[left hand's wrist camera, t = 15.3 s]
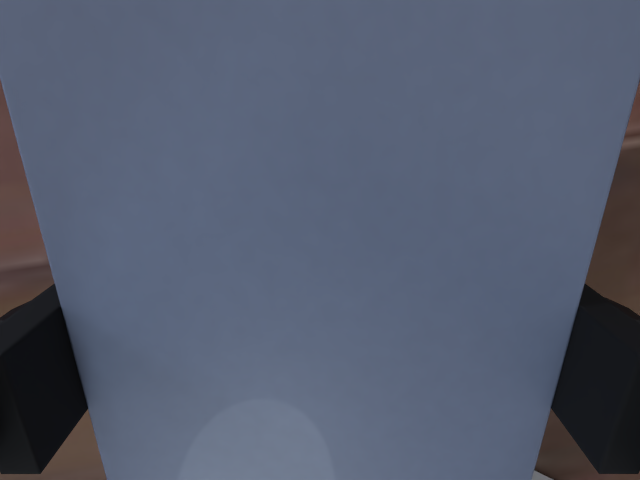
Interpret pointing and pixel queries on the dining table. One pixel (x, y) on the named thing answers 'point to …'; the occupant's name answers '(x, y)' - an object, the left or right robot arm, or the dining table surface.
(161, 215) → the cabinet
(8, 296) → the dining table surface
